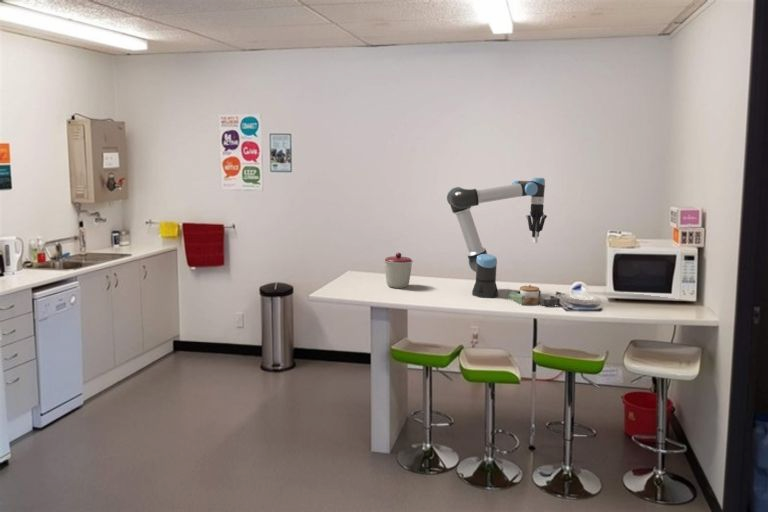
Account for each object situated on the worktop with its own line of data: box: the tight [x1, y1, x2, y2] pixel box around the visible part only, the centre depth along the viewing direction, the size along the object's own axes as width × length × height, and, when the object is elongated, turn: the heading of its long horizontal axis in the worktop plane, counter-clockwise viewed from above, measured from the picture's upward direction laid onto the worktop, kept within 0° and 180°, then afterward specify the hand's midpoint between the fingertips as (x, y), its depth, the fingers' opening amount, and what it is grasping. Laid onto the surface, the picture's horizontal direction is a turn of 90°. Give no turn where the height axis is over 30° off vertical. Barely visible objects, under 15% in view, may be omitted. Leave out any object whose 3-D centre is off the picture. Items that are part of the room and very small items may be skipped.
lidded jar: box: [519, 284, 540, 297], centre depth 381 cm, size 11×11×9 cm
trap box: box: [507, 289, 561, 307], centre depth 382 cm, size 20×29×5 cm
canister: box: [383, 252, 414, 289], centre depth 412 cm, size 18×18×21 cm
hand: (535, 242), depth 407 cm, fingers closed
